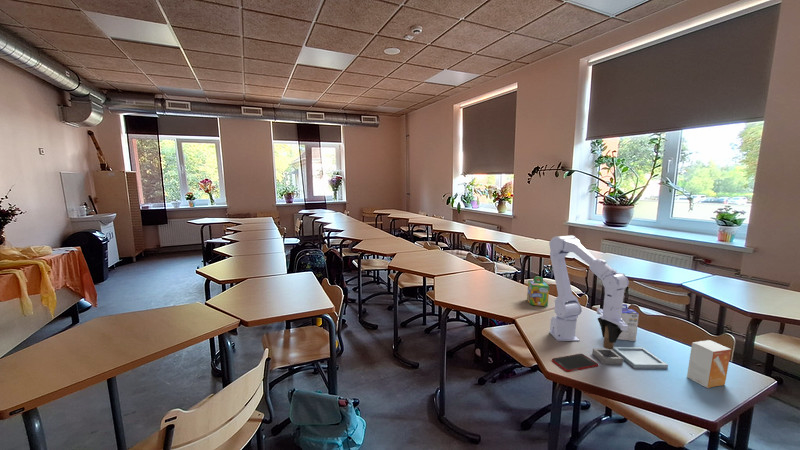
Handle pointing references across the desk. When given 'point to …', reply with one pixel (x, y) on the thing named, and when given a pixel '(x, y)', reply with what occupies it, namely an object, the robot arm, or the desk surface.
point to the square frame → (607, 360)
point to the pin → (607, 340)
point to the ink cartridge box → (629, 324)
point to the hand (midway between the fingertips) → (609, 339)
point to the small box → (708, 363)
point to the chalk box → (538, 292)
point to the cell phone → (574, 362)
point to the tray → (640, 357)
